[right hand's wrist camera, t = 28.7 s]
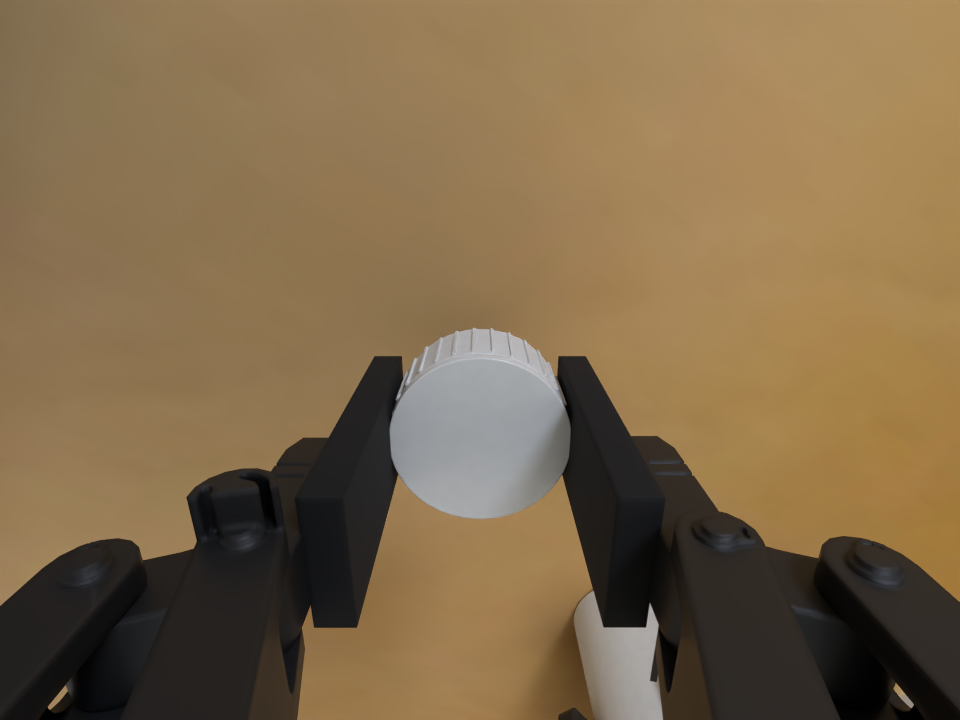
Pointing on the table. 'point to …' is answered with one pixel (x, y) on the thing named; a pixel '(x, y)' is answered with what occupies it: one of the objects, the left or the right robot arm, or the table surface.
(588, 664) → the bottle
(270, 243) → the table surface
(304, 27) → the table surface
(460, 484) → the cap
